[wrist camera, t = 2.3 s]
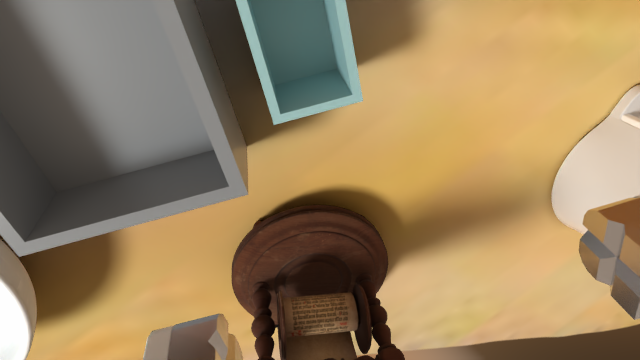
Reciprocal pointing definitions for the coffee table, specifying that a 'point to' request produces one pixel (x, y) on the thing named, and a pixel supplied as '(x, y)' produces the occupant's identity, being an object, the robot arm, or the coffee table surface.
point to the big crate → (109, 119)
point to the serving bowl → (15, 307)
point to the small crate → (302, 55)
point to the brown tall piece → (314, 284)
